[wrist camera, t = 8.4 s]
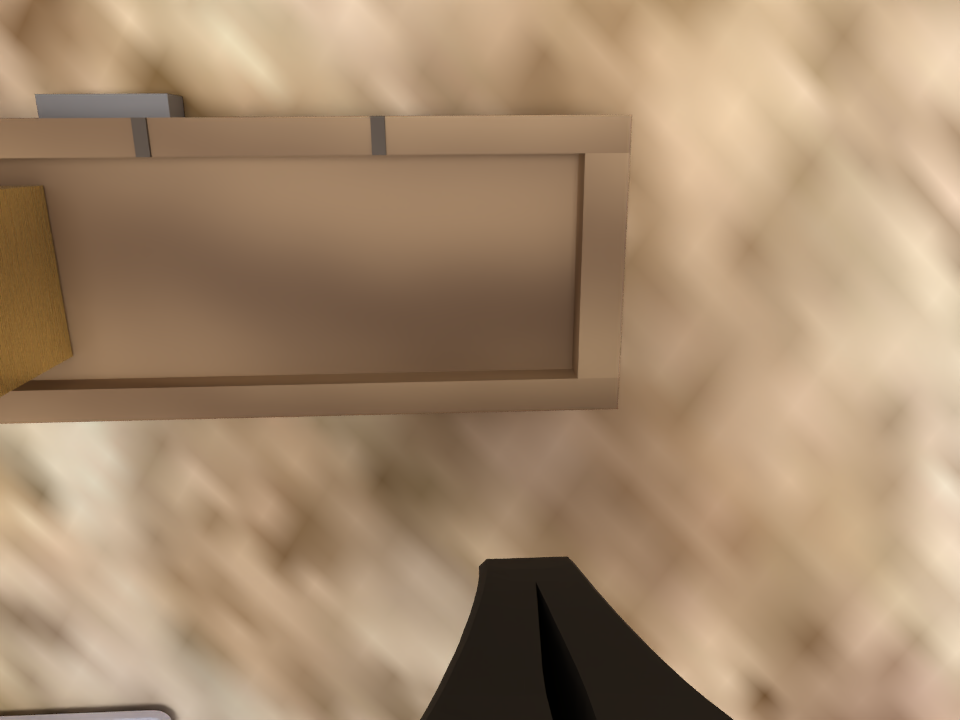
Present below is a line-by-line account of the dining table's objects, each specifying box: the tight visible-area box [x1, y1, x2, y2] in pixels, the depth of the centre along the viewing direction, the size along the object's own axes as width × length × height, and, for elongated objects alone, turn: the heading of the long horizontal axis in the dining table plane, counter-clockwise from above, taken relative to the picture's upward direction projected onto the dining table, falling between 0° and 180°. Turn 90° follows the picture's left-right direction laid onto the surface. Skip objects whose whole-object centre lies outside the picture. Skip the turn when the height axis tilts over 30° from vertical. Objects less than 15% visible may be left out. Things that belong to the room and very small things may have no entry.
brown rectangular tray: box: [0, 94, 632, 424], centre depth 17 cm, size 8×24×3 cm, turn 90°
